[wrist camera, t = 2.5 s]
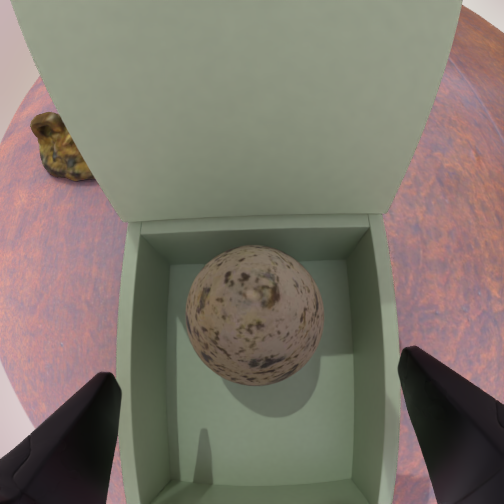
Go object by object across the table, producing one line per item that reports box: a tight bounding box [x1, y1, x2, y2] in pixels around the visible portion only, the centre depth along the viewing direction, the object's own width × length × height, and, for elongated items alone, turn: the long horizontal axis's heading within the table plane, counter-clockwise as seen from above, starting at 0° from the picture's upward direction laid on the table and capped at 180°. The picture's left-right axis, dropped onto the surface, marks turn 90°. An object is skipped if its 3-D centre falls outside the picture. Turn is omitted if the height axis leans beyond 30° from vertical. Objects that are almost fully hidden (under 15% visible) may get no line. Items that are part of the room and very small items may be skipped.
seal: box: [30, 112, 95, 181], centre depth 22 cm, size 9×5×15 cm
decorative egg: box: [185, 245, 324, 386], centre depth 12 cm, size 6×6×10 cm
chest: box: [116, 213, 401, 504], centre depth 14 cm, size 16×13×6 cm
